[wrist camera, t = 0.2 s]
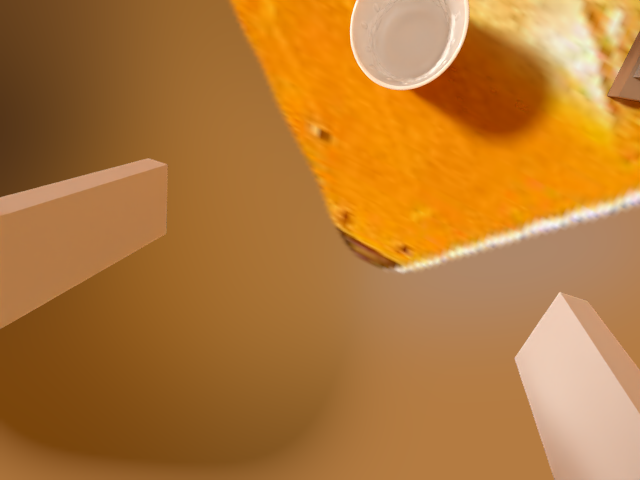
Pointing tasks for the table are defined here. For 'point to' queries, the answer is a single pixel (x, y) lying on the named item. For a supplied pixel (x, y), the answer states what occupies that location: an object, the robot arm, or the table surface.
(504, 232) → the table surface
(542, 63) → the table surface
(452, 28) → the white cup
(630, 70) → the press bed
